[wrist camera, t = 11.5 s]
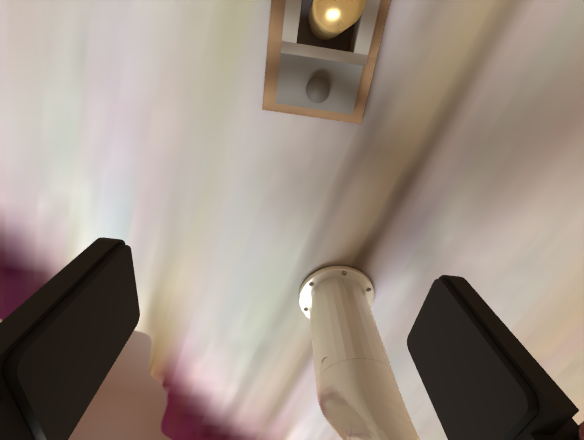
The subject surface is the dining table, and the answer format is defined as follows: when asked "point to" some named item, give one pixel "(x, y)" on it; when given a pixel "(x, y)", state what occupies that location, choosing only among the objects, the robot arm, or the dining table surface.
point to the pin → (333, 16)
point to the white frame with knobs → (321, 66)
